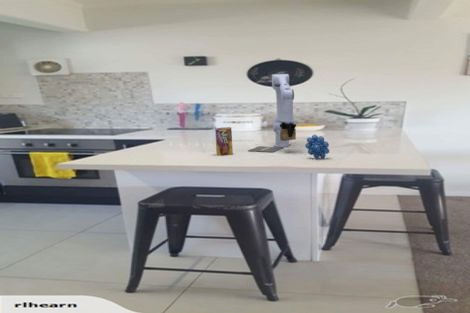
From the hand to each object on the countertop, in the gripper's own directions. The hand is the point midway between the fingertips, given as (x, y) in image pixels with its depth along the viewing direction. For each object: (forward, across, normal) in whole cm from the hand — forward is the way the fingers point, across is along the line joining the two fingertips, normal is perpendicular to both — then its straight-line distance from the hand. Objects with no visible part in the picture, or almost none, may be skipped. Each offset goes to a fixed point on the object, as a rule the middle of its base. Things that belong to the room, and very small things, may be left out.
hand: (288, 136), depth 184 cm
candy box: (+9, +20, +30) cm, 37 cm away
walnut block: (+2, 0, 0) cm, 2 cm away
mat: (+9, +16, +3) cm, 19 cm away
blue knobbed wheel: (+9, -24, +2) cm, 26 cm away
